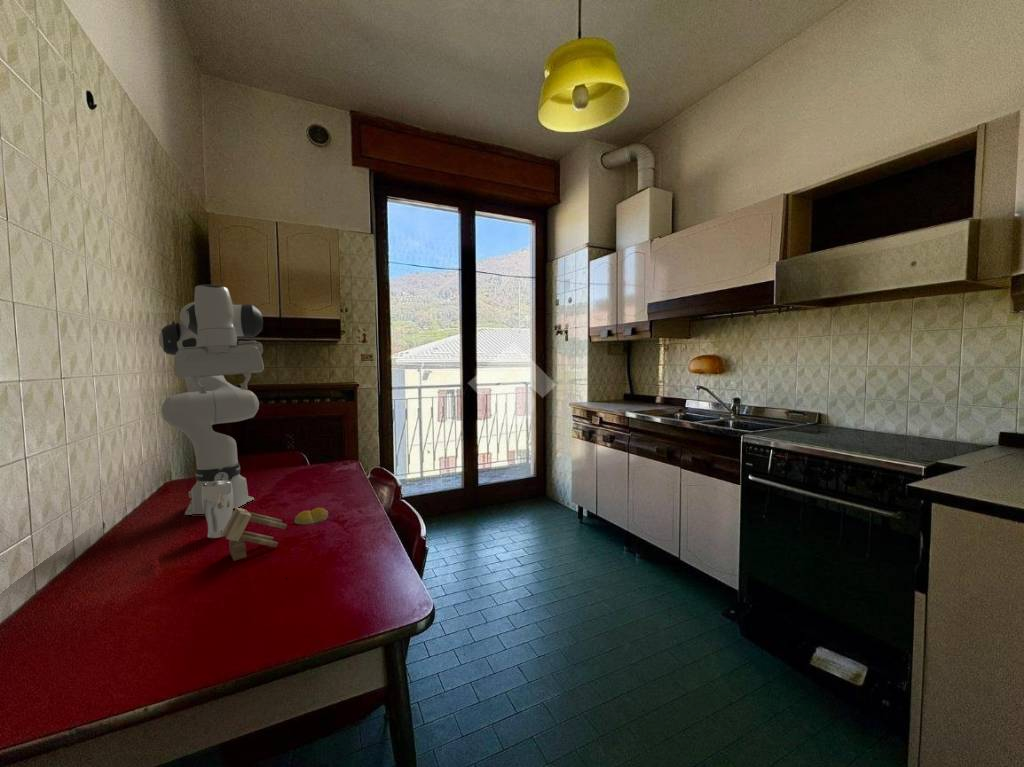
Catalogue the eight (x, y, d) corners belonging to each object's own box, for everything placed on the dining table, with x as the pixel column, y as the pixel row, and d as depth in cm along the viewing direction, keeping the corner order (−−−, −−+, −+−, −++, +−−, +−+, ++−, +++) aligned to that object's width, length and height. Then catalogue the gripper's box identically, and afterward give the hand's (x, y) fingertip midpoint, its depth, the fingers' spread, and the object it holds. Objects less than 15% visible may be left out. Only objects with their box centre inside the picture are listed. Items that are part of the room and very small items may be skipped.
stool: (269, 541, 105) (222, 532, 98) (281, 518, 107) (235, 507, 100) (275, 548, 100) (226, 539, 94) (287, 524, 102) (240, 513, 95)
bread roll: (295, 521, 122) (294, 508, 122) (328, 515, 126) (327, 502, 125) (293, 531, 114) (292, 517, 114) (328, 525, 118) (328, 511, 118)
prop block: (230, 554, 99) (229, 541, 98) (242, 550, 100) (241, 537, 100) (233, 561, 95) (232, 547, 95) (246, 557, 97) (245, 543, 97)
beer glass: (242, 532, 115) (238, 478, 114) (222, 542, 108) (218, 486, 107) (219, 532, 116) (215, 479, 115) (198, 542, 109) (193, 486, 108)
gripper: (262, 341, 122) (268, 388, 122) (175, 346, 112) (181, 396, 112) (260, 337, 116) (266, 386, 116) (169, 342, 107) (175, 395, 107)
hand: (224, 391), depth 114 cm, fingers open, 8 cm apart
